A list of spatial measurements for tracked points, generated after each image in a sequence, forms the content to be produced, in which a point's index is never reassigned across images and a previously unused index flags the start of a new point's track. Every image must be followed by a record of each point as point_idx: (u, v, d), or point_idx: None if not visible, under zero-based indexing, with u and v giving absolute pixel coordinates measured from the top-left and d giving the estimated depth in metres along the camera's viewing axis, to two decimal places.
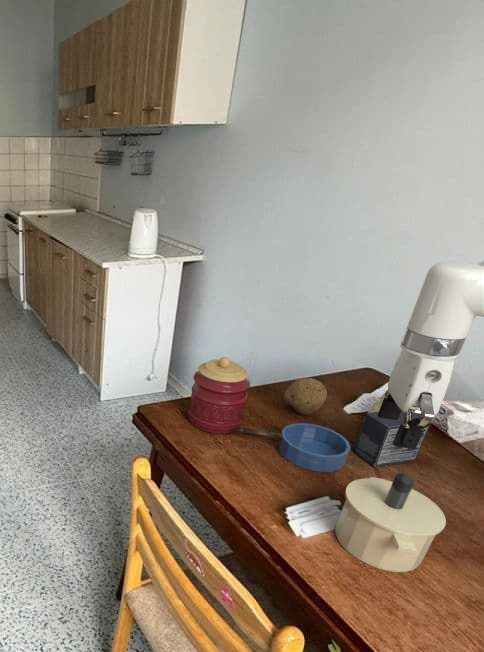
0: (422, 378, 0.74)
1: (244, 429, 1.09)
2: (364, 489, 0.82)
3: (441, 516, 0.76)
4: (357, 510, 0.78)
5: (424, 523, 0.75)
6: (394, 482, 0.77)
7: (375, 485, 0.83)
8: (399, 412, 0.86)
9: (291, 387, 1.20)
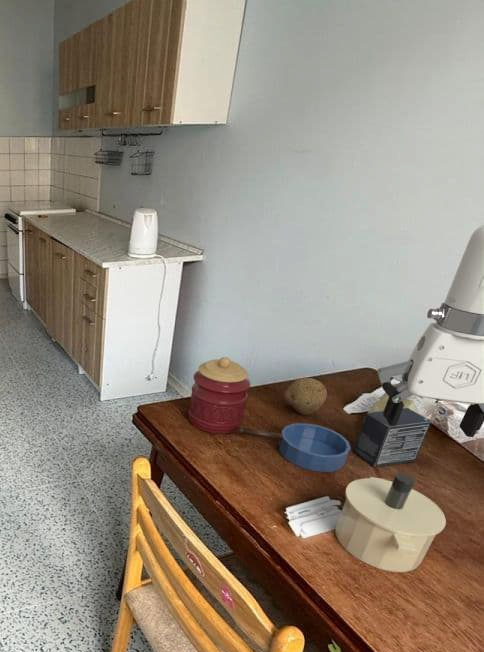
0: (417, 343, 0.69)
1: (244, 429, 1.09)
2: (364, 489, 0.82)
3: (441, 516, 0.76)
4: (357, 510, 0.78)
5: (424, 523, 0.75)
6: (394, 482, 0.77)
7: (375, 485, 0.83)
8: (471, 426, 0.69)
9: (291, 387, 1.20)
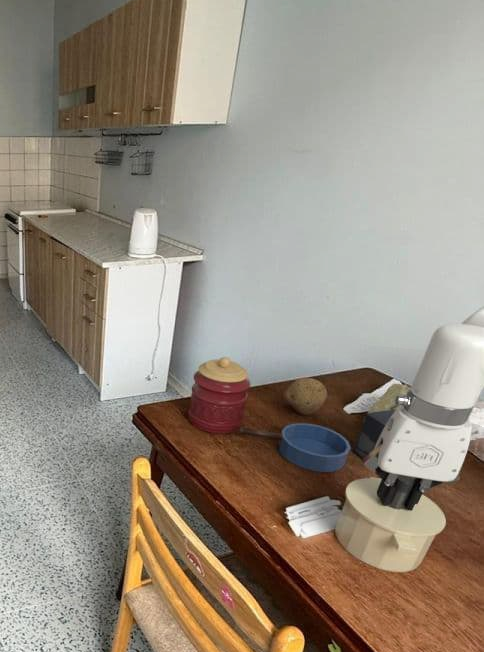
0: (387, 423, 0.74)
1: (244, 429, 1.09)
2: (364, 489, 0.82)
3: (441, 516, 0.76)
4: (357, 510, 0.78)
5: (424, 523, 0.75)
6: None
7: (375, 485, 0.83)
8: (409, 501, 0.76)
9: (291, 387, 1.20)
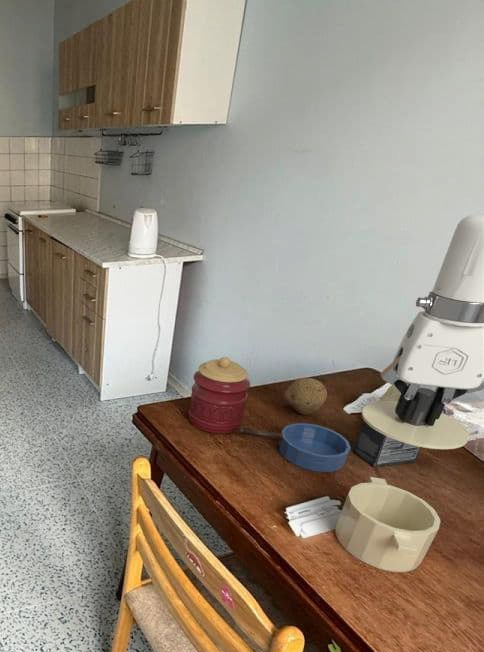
0: None
1: (244, 429, 1.09)
2: (381, 410, 0.78)
3: (464, 431, 0.72)
4: (375, 427, 0.74)
5: (447, 437, 0.71)
6: None
7: (392, 406, 0.79)
8: (430, 416, 0.72)
9: (291, 387, 1.20)
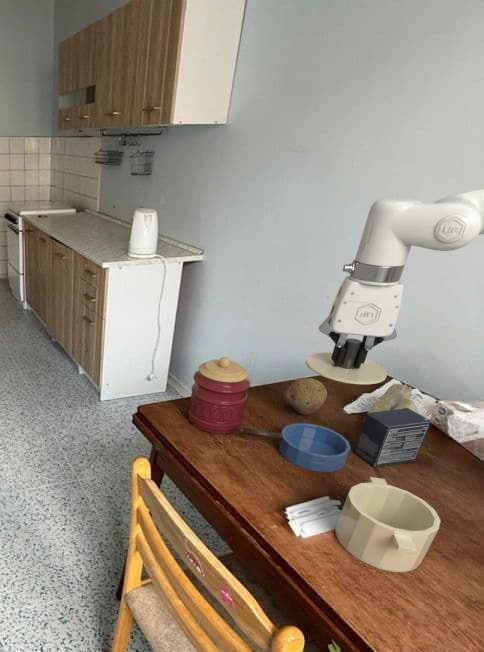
0: None
1: (244, 429, 1.09)
2: (322, 358, 0.97)
3: (383, 372, 0.91)
4: (314, 370, 0.93)
5: (369, 376, 0.90)
6: (345, 345, 0.92)
7: (331, 356, 0.98)
8: (357, 360, 0.91)
9: (291, 387, 1.20)
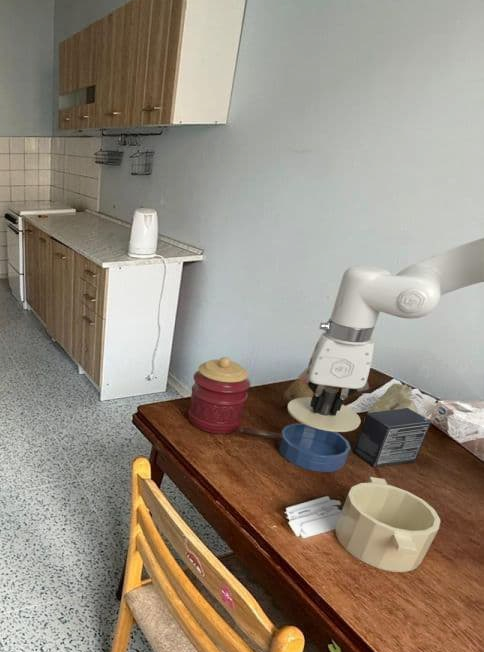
0: (315, 346, 0.97)
1: (244, 429, 1.09)
2: (302, 403, 1.05)
3: (357, 419, 0.99)
4: (294, 416, 1.01)
5: (343, 423, 0.98)
6: (322, 394, 1.00)
7: None
8: (333, 408, 0.99)
9: (291, 387, 1.20)
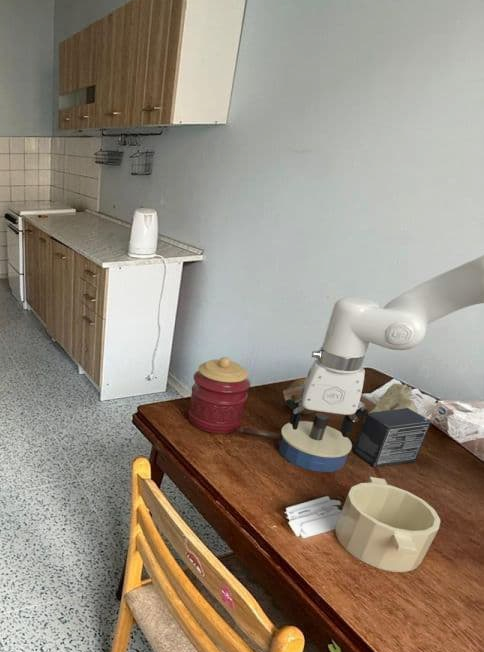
0: (308, 373, 1.00)
1: (244, 429, 1.09)
2: None
3: (349, 444, 1.02)
4: (287, 441, 1.04)
5: (335, 448, 1.00)
6: (314, 419, 1.03)
7: (304, 425, 1.09)
8: (345, 430, 1.00)
9: (291, 387, 1.20)
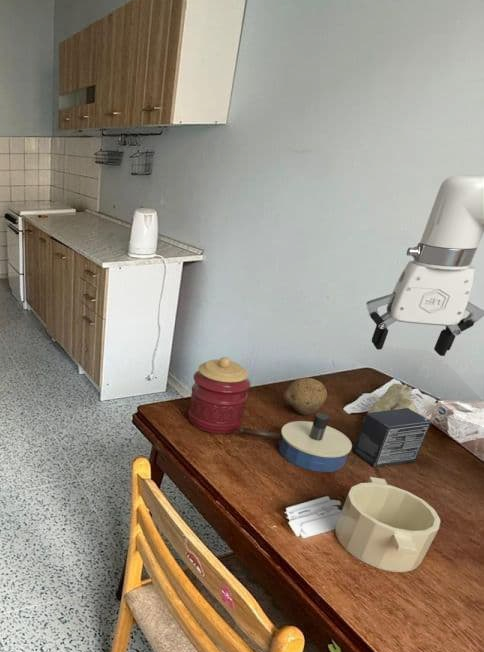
0: (399, 278, 0.84)
1: (244, 429, 1.09)
2: (295, 428, 1.08)
3: (349, 444, 1.02)
4: (287, 441, 1.04)
5: (335, 448, 1.00)
6: (314, 419, 1.03)
7: (304, 425, 1.09)
8: (442, 346, 0.84)
9: (291, 387, 1.20)
